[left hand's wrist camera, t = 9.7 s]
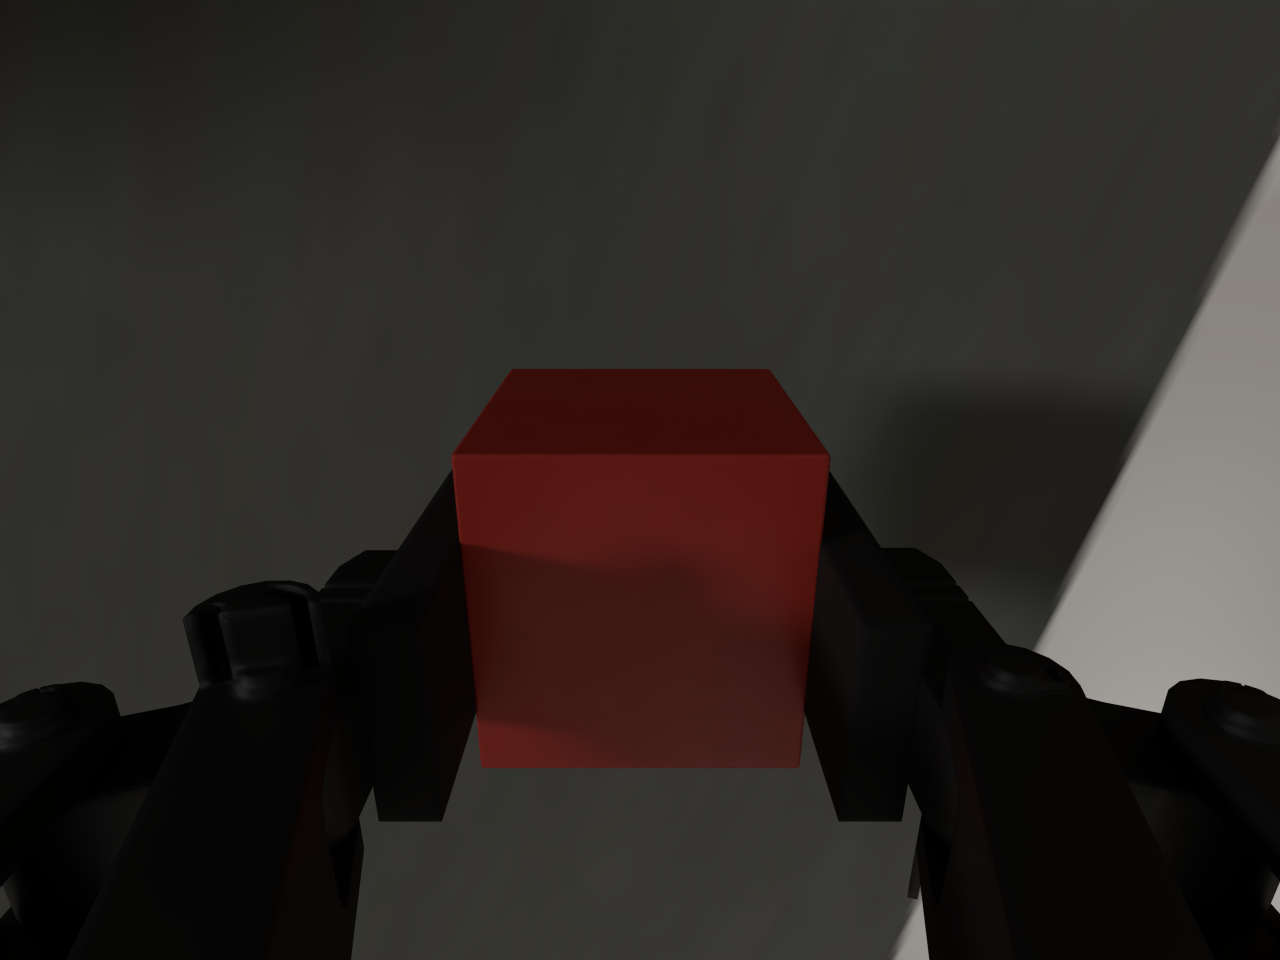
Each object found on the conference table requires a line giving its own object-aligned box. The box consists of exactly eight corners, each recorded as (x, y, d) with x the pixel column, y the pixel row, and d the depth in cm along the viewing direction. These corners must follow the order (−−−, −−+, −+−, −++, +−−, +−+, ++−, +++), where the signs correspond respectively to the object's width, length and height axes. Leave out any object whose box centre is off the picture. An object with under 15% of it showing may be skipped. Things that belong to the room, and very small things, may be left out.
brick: (510, 368, 14) (449, 454, 9) (770, 368, 14) (831, 455, 9) (525, 604, 16) (480, 769, 11) (754, 604, 16) (800, 769, 11)
